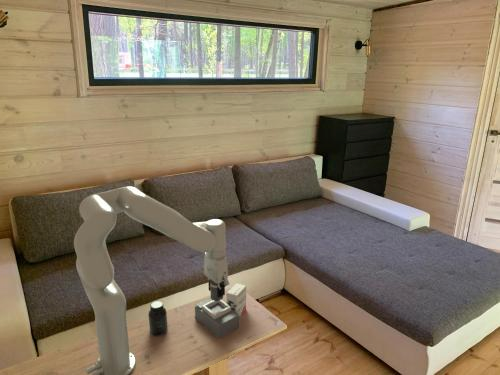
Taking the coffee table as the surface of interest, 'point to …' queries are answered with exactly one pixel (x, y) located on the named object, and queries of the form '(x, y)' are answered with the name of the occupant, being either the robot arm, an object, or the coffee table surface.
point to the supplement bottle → (157, 318)
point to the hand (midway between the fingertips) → (216, 292)
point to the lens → (214, 291)
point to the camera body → (217, 317)
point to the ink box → (237, 298)
